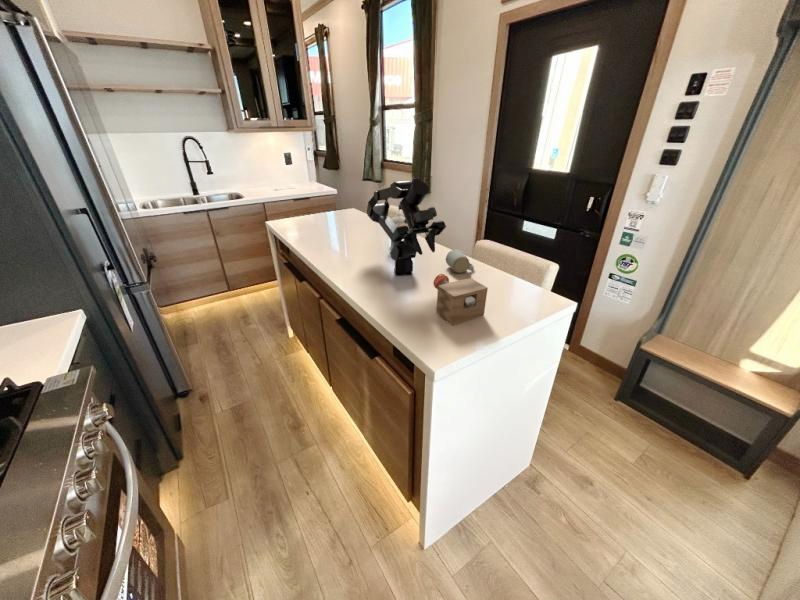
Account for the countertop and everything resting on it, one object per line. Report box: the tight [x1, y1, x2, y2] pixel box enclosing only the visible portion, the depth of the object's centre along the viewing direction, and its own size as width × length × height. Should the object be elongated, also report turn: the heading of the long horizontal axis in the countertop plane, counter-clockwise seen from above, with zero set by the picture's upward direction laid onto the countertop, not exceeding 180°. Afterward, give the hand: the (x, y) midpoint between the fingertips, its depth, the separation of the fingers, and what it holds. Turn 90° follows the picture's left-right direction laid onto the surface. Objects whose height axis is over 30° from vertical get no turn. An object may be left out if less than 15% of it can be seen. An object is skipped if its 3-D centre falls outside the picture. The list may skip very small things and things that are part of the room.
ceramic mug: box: [445, 248, 475, 274], centre depth 128 cm, size 11×8×8 cm
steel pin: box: [433, 273, 475, 307], centre depth 98 cm, size 16×5×5 cm, turn 28°
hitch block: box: [435, 277, 489, 326], centre depth 96 cm, size 8×12×10 cm, turn 118°
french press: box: [388, 215, 405, 251], centre depth 148 cm, size 10×12×25 cm
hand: (427, 253), depth 107 cm, fingers open, 5 cm apart
